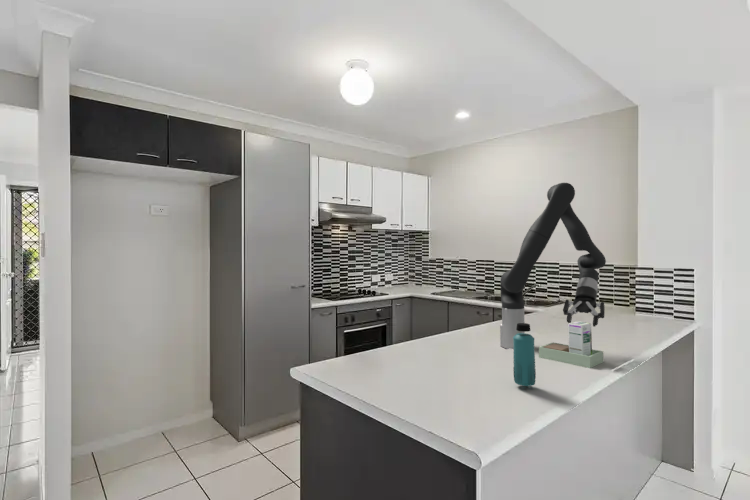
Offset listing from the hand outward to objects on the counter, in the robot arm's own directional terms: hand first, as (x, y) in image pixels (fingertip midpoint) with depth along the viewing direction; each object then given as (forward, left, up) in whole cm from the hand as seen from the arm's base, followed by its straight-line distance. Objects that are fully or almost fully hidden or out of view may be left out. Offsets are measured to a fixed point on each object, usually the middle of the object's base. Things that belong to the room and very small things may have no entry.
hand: (581, 324), depth 156 cm
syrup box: (+1, -4, -14) cm, 14 cm away
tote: (-3, -4, -14) cm, 15 cm away
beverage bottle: (+1, -43, -14) cm, 45 cm away
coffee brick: (-8, -4, -13) cm, 16 cm away
